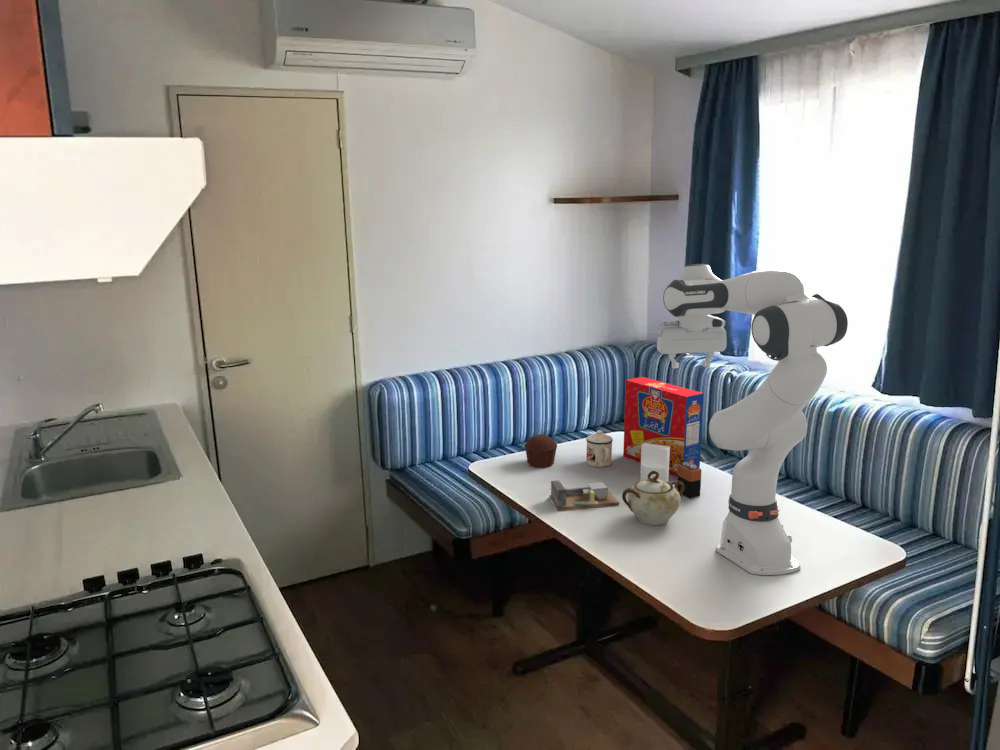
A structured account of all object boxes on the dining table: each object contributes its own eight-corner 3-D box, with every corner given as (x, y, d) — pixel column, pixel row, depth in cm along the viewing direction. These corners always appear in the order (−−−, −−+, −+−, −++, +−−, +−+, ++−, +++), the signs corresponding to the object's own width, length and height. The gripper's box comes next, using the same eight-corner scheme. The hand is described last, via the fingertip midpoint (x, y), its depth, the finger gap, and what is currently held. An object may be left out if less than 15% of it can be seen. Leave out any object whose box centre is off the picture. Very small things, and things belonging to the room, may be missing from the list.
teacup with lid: (581, 460, 283) (582, 428, 280) (605, 457, 286) (606, 425, 283) (595, 471, 272) (596, 438, 269) (620, 468, 274) (621, 435, 272)
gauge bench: (608, 493, 253) (608, 475, 251) (618, 505, 243) (619, 486, 242) (549, 498, 249) (549, 479, 248) (557, 510, 240) (558, 491, 238)
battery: (689, 499, 248) (690, 468, 245) (675, 491, 254) (677, 461, 251) (700, 496, 249) (702, 466, 247) (686, 489, 255) (688, 459, 253)
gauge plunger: (602, 493, 249) (603, 482, 248) (610, 502, 243) (610, 491, 242) (580, 495, 248) (581, 484, 247) (587, 504, 241) (588, 492, 240)
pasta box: (623, 456, 287) (625, 380, 280) (639, 452, 291) (642, 376, 285) (682, 479, 264) (686, 396, 258) (699, 474, 269) (703, 393, 262)
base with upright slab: (671, 479, 265) (673, 444, 262) (663, 488, 257) (665, 452, 254) (645, 474, 269) (646, 440, 266) (636, 483, 261) (637, 448, 258)
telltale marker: (592, 499, 243) (592, 490, 242) (594, 501, 242) (594, 492, 241) (589, 500, 243) (589, 490, 242) (591, 502, 241) (591, 492, 241)
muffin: (557, 469, 274) (557, 441, 271) (524, 469, 274) (524, 441, 272) (556, 458, 285) (556, 431, 283) (524, 458, 286) (525, 430, 283)
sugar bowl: (633, 534, 223) (635, 483, 220) (610, 514, 237) (611, 465, 233) (696, 525, 229) (699, 475, 225) (670, 505, 243) (672, 458, 239)
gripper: (662, 323, 227) (660, 371, 230) (730, 321, 230) (727, 368, 234) (654, 319, 233) (652, 366, 236) (720, 317, 236) (717, 363, 240)
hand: (690, 367), depth 235 cm, fingers open, 8 cm apart
